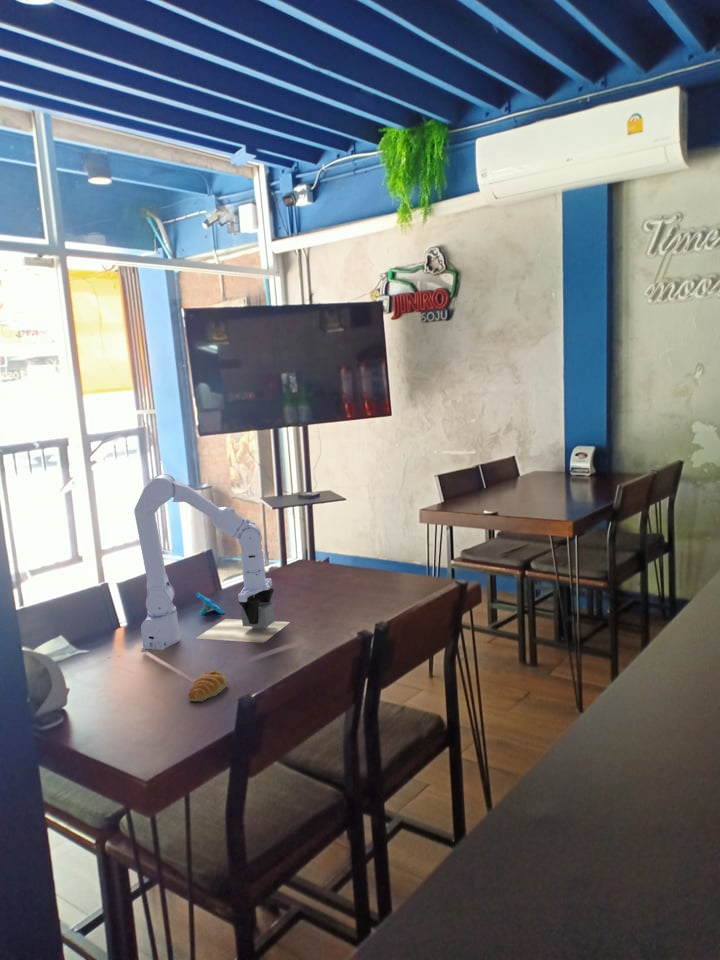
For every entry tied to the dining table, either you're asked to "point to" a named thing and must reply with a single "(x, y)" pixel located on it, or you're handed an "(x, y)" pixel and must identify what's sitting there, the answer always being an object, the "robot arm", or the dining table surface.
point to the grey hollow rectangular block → (261, 615)
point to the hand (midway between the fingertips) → (258, 620)
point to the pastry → (207, 686)
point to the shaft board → (241, 631)
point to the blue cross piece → (208, 605)
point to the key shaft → (259, 628)
